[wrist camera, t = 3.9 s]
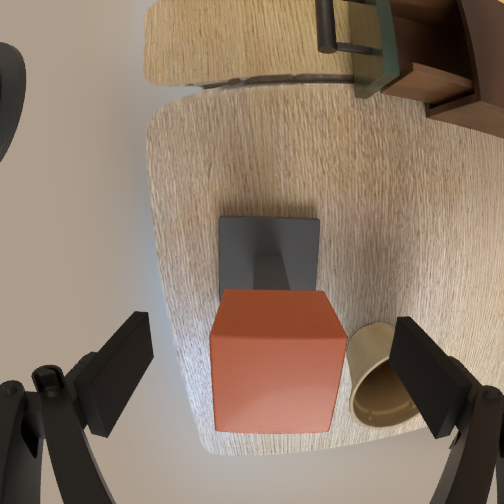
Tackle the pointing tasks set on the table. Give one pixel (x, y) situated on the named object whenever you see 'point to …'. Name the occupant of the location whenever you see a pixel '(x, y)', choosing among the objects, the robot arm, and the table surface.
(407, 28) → the drawer
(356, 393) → the flower pot
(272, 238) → the stand
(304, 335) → the block
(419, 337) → the robot arm
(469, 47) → the cabinet
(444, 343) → the table surface
